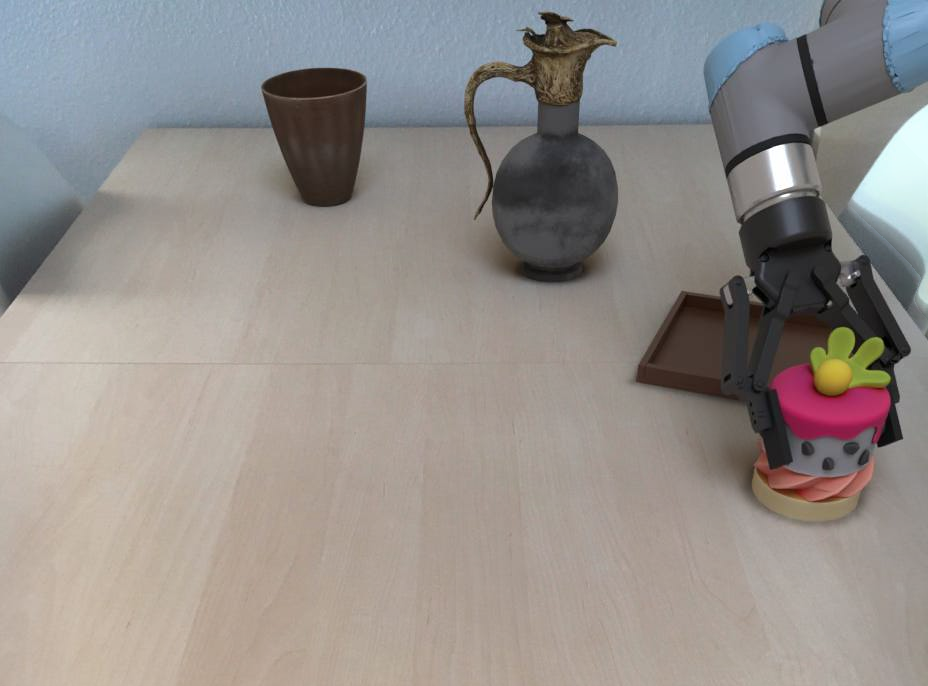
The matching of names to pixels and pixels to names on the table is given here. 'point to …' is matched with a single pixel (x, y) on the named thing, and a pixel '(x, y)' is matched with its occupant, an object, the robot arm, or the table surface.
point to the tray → (718, 345)
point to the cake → (826, 430)
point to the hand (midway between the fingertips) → (836, 454)
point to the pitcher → (550, 159)
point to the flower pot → (319, 129)
